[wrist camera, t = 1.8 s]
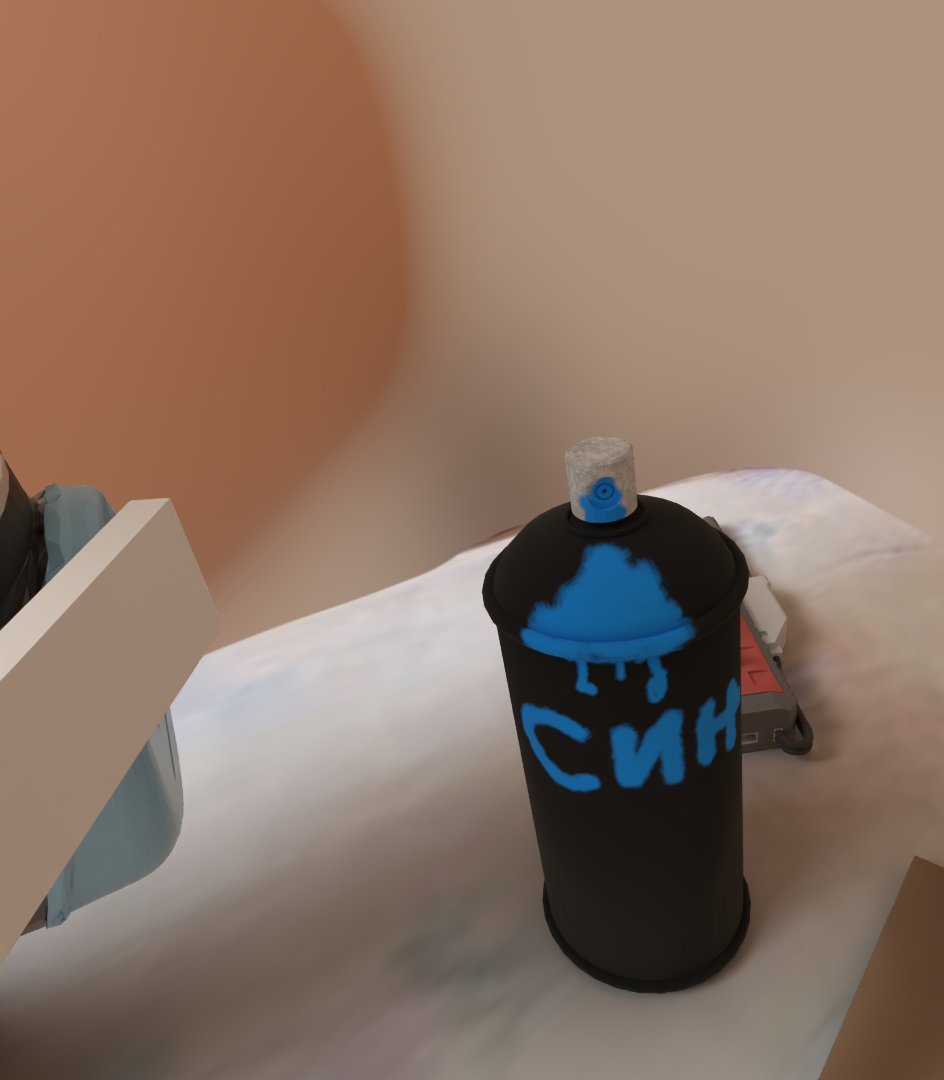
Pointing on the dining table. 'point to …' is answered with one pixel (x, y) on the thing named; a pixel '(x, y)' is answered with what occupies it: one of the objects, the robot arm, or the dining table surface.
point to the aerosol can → (629, 723)
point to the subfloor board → (899, 992)
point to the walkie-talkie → (766, 674)
